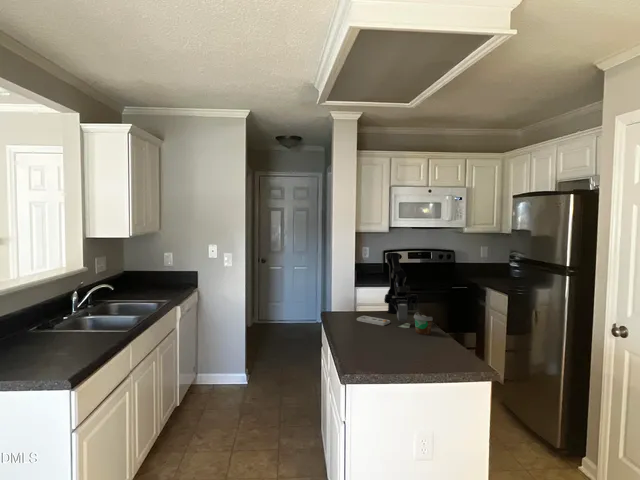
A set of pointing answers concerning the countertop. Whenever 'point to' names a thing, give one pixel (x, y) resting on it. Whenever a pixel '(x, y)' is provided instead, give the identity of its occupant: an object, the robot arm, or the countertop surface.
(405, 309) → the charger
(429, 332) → the food container
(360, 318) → the power strip
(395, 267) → the robot arm
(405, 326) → the mat
